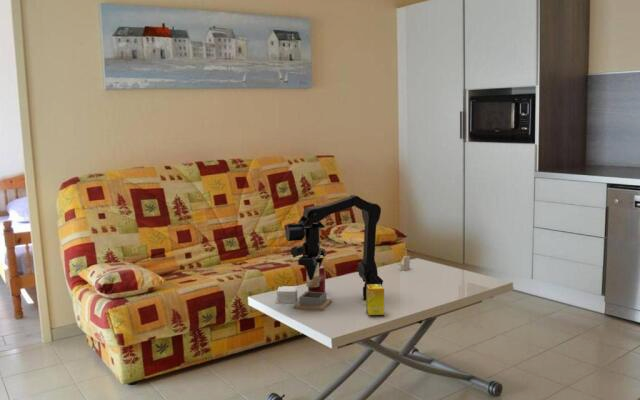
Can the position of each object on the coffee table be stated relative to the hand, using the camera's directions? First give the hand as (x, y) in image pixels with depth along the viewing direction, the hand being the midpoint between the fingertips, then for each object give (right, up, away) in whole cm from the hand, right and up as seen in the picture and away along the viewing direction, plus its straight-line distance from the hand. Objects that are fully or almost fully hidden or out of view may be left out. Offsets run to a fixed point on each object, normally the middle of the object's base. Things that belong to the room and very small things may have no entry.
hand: (312, 278), depth 236 cm
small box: (-11, -11, +8) cm, 17 cm away
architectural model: (+44, -4, +56) cm, 72 cm away
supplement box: (+24, -13, -11) cm, 29 cm away
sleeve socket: (0, -11, +1) cm, 11 cm away
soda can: (+1, -9, +17) cm, 19 cm away
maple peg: (0, -3, 0) cm, 3 cm away
